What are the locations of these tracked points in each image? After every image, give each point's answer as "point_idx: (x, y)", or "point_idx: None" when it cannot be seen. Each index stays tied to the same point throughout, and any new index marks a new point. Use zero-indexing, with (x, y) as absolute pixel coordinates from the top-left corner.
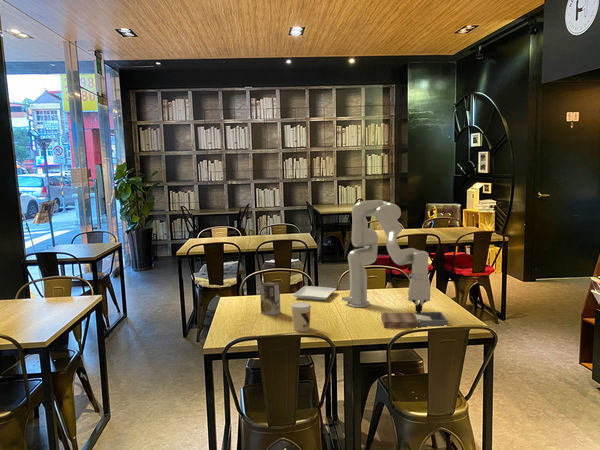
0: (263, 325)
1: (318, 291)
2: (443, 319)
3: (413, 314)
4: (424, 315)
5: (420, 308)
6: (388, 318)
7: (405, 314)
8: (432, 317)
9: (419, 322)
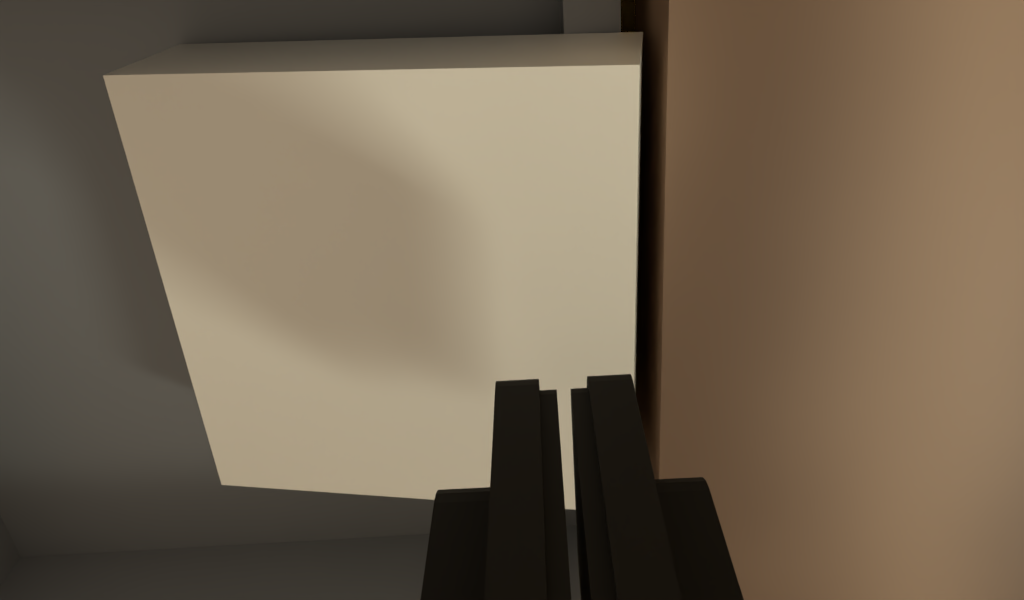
0: None
1: None
2: None
3: None
4: (363, 590)
5: (514, 519)
6: None
7: (899, 543)
8: (180, 561)
9: (567, 38)
